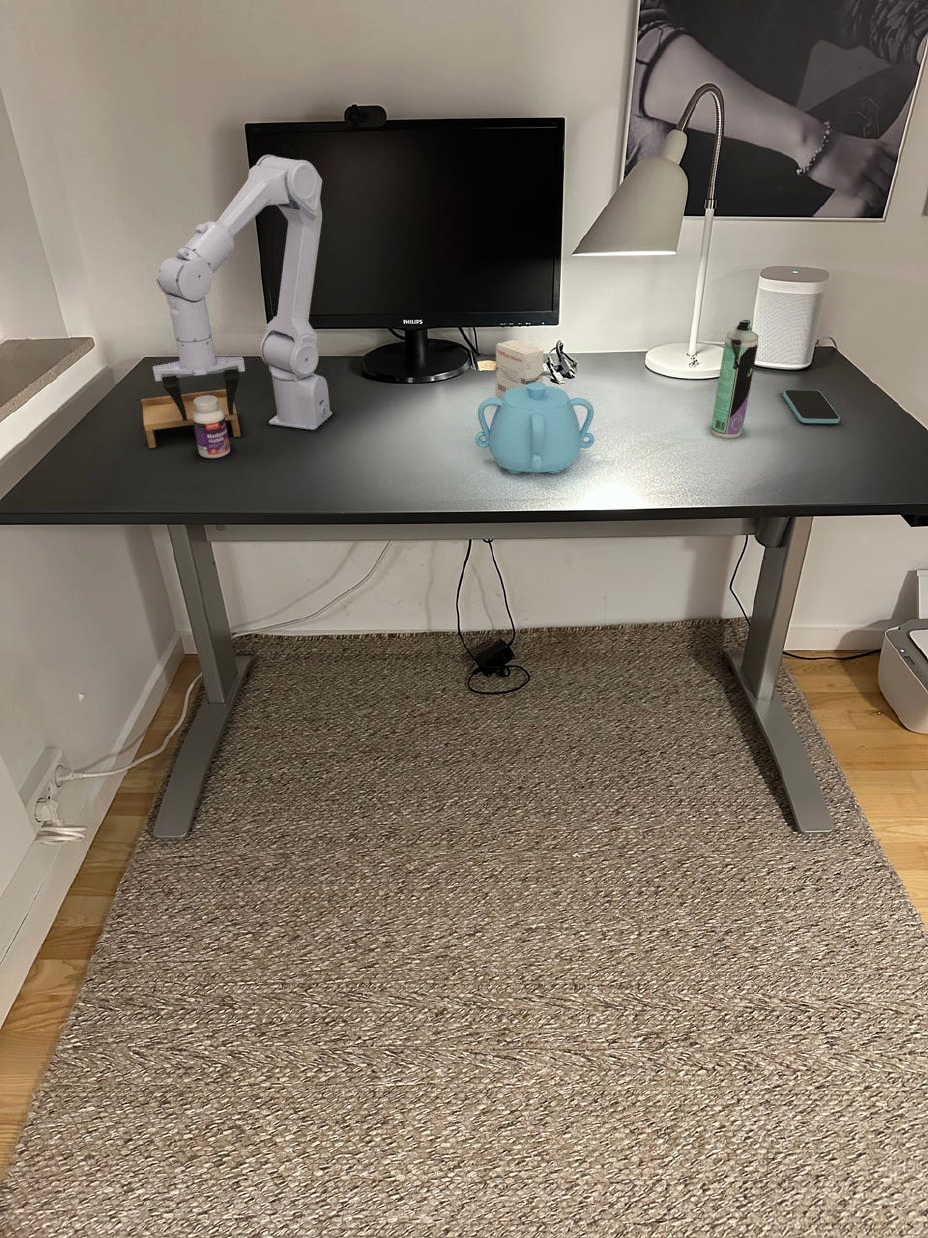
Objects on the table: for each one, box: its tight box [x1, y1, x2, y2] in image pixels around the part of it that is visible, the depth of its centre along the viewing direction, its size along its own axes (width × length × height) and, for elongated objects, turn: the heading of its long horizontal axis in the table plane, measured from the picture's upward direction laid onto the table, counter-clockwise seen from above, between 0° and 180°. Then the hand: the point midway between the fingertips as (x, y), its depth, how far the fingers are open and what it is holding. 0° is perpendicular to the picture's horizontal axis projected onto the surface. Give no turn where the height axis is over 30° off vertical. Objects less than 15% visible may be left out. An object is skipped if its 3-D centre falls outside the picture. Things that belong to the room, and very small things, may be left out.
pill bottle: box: [192, 395, 231, 459], centre depth 156 cm, size 5×5×10 cm
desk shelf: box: [140, 388, 241, 449], centre depth 164 cm, size 16×9×6 cm, turn 107°
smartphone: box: [782, 389, 841, 424], centre depth 171 cm, size 7×1×15 cm
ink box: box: [495, 339, 544, 399], centre depth 170 cm, size 9×5×12 cm, turn 39°
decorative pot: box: [474, 382, 595, 474], centre depth 151 cm, size 16×16×14 cm
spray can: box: [710, 319, 760, 439], centre depth 158 cm, size 6×6×20 cm
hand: (208, 415), depth 155 cm, fingers open, 7 cm apart
